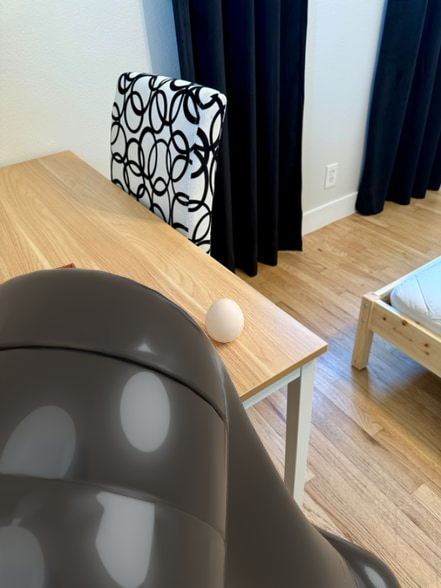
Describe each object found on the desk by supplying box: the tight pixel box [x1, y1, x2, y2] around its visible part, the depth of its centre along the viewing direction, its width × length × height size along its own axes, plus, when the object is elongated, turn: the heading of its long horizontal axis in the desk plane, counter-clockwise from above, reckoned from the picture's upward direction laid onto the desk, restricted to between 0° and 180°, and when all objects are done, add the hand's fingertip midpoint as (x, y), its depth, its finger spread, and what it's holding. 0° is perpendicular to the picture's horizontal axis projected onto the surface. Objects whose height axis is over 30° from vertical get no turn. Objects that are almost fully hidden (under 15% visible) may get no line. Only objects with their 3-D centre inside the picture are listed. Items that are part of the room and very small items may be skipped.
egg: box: [204, 297, 245, 344], centre depth 67 cm, size 6×6×8 cm
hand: (103, 386), depth 52 cm, fingers open, 8 cm apart
